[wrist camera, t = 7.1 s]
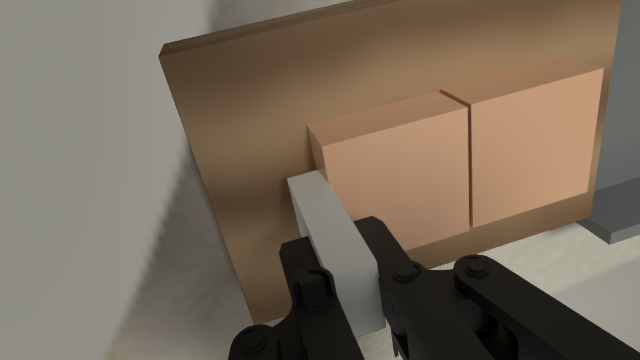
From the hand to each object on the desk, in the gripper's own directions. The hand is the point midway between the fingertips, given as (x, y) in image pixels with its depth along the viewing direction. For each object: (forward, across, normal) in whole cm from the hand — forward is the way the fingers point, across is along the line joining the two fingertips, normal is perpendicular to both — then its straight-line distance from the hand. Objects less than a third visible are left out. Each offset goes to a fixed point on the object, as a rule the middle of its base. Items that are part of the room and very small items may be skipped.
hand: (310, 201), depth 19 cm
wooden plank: (+4, +6, 0) cm, 7 cm away
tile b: (+1, +10, 0) cm, 10 cm away
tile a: (+1, +4, 0) cm, 4 cm away
